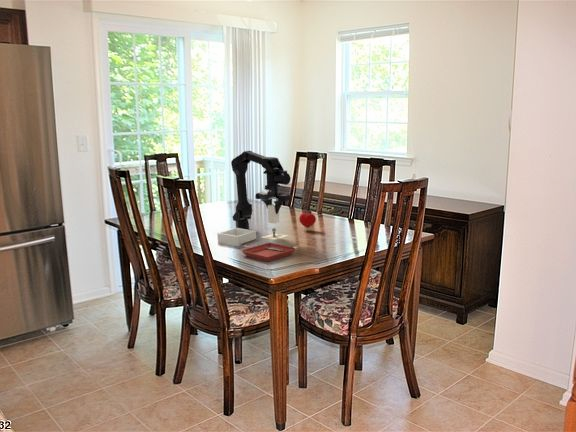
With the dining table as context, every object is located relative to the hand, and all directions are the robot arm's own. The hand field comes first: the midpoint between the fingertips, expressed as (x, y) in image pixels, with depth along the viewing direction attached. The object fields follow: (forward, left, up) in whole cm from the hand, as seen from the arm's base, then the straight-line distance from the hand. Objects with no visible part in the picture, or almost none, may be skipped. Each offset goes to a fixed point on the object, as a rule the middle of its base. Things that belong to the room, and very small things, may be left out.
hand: (273, 213), depth 285 cm
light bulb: (+7, +20, -13) cm, 25 cm away
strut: (0, 0, -4) cm, 4 cm away
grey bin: (-12, -15, -13) cm, 23 cm away
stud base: (0, 0, -13) cm, 13 cm away
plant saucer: (+17, -26, -14) cm, 34 cm away
